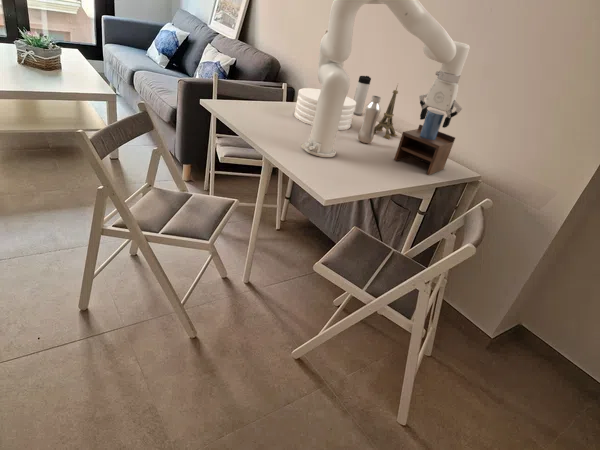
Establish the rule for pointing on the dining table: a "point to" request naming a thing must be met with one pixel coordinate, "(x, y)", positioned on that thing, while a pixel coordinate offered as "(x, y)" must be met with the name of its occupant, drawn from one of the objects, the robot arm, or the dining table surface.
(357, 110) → the travel mug
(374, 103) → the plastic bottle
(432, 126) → the jug
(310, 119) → the plate stack
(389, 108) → the eiffel tower
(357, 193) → the dining table surface
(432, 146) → the shelf stand
